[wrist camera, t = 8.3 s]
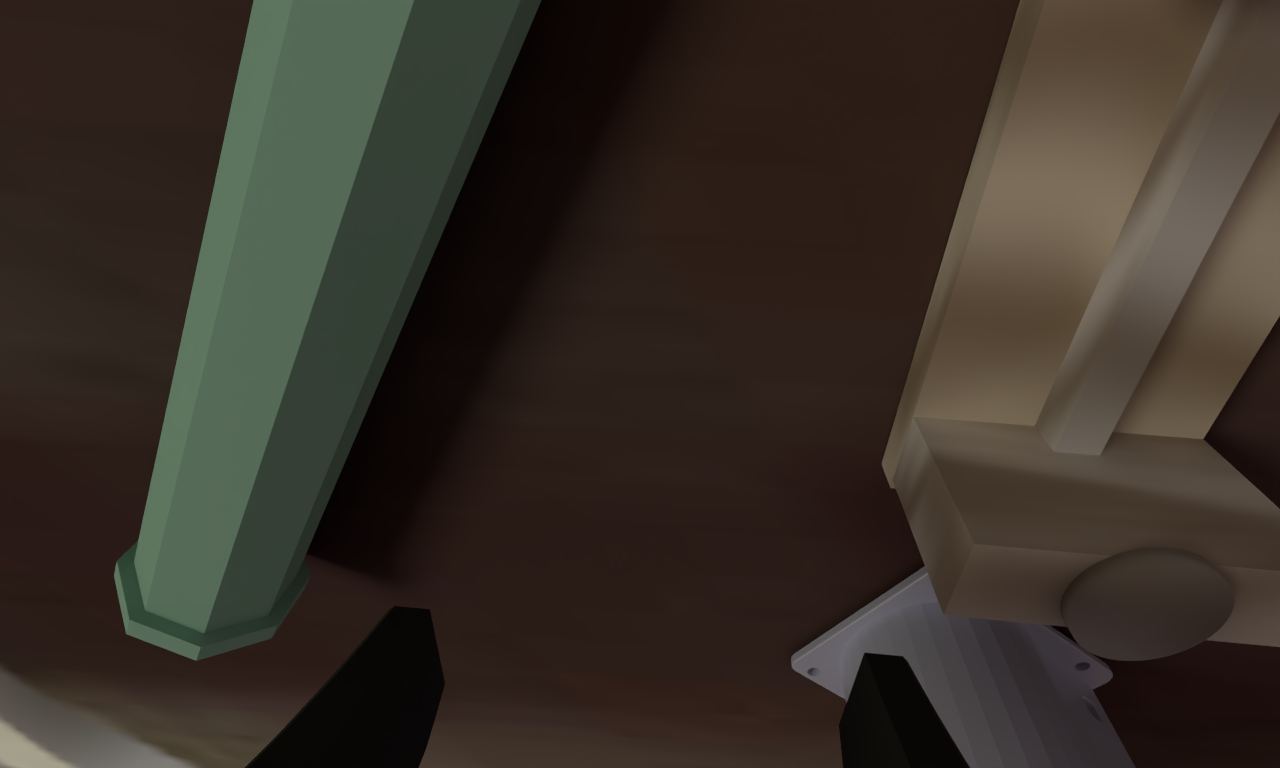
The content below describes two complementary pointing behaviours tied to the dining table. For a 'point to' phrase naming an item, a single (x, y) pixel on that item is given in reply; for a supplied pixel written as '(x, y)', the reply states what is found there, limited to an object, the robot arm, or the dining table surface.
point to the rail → (1105, 333)
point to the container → (304, 292)
